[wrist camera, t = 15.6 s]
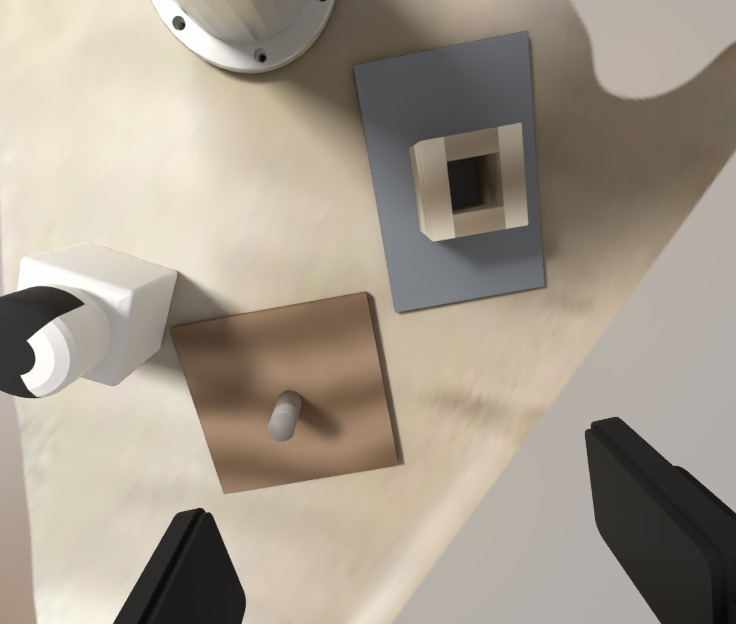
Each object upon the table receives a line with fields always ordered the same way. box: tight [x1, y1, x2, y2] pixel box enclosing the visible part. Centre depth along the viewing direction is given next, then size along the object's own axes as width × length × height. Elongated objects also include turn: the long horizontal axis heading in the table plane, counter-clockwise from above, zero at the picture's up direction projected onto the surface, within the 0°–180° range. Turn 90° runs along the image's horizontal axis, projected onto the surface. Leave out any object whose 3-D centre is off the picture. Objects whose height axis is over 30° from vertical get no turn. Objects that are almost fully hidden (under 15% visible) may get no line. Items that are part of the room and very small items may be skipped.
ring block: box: [409, 123, 528, 242], centre depth 29 cm, size 6×6×6 cm
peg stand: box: [170, 292, 398, 494], centre depth 35 cm, size 16×16×5 cm
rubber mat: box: [353, 31, 545, 313], centre depth 33 cm, size 18×12×1 cm, turn 10°
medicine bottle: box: [0, 243, 177, 398], centre depth 29 cm, size 7×7×12 cm
